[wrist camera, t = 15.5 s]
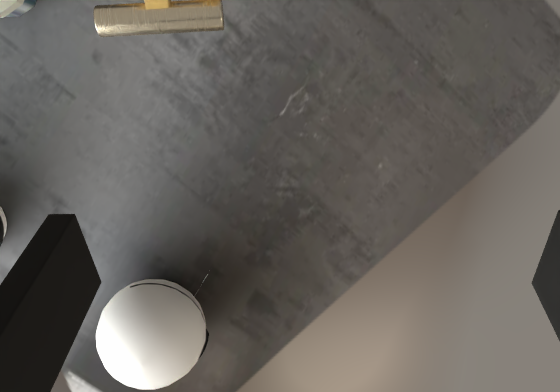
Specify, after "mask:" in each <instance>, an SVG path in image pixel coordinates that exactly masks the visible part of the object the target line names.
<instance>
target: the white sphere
mask: <svg viewBox="0 0 560 392" xmlns="http://www.w3.org/2000/svg"><path fill="white" fill-rule="evenodd" d="M206 277H207V276H206ZM204 280H205V279H204ZM202 283H203V282H202ZM201 285H202V284H201ZM197 292H198V291H197ZM195 295H196V294H195ZM208 337H209V333H208V331H207V329H206V323H205V317H204V314H203V311H202V308H201V306H200V304H199V302H198V301H197V300H196V299H195V297H194V296H193V295H192V294H191V293H190V292H189V291H187V290H186V289H184V288H183V287H181V286H180V285H178V284H177V283H174V282H170V281H167V280H163V279H145V280H142V281H138V282H134V283H131V284H129V285H128V286H126V287H125V288H123V289H122V290H120V291H119V292H118V293H117V294H116V295H115V296H114V297H113V298H112V299H111V300H110V301H109V303H108V304H107V305H106V306H105V308H104V309H103V311H102V314H101V317H100V320H99V323H98V327H97V331H96V344H97V350H98V353H99V355H100V358H101V360H102V362H103V364H104V366H105V369H106V370H107V371H108V372H109V373H110V374H111V375H112V376H113V377H114V378H115V379H116V380H118V381H120V382H121V383H123V384H125V385H127V386H130V387H134V388H138V389H158V388H161V387H165V386H168V385H170V384H172V383H173V382H175V381H177V380H178V379H180V378H181V377H183V376H184V375H186V374H187V373H188V372H189V371H190V370H191V369H192V367H193V366H194V365H195V364H196V363H197V361H198V359H199V358H200V357H201V355H202V354H203V352H204V350H205V348H206V346H207V342H208Z"/></svg>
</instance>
